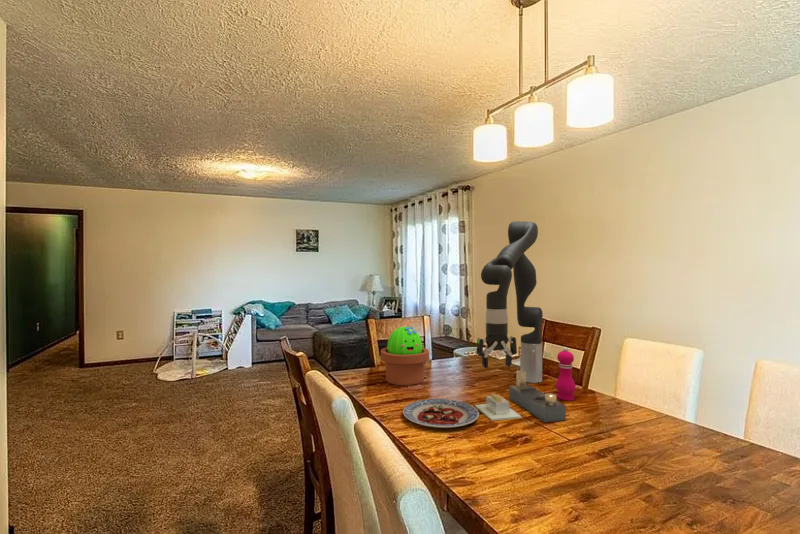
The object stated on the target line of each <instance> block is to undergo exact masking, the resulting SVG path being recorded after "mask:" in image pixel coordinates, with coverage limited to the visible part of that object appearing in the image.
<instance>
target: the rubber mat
mask: <svg viewBox="0 0 800 534" xmlns="http://www.w3.org/2000/svg"><path fill="white" fill-rule="evenodd" d="M474 408H476V409H477V411H478V412H480V413H482V414H483V415H484V416H485V417H487V419H488V420H490V421H503V420H505V421H507V420H515V419H522V416H521V415H520V414H519V413H517V412H516V411H515V410H514V409H512V408H510V414H502V415H496V414H494V413H493V412H492V411H491V410H489V409H488V408H487V407H486V403H481V404H474Z"/></svg>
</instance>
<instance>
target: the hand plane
mask: <svg viewBox="0 0 800 534" xmlns="http://www.w3.org/2000/svg"><path fill="white" fill-rule="evenodd" d="M515 378H516V380H515V381H516V385H509V387H508V388H509V389H508V391H509V392H508V393H509V394H508V396H509V400H510V401H512V402H513V403H515V404H516V405H518V406H520V407H521V409H524V410H525V411H527V412H528V413H529V414H531V415H532V416H534V417H536V418H537V419H539V421H541V422H543V423H551V422H560V421H561V422H563V421H567V417H566V416H567V411H566V409H567V405H566V404H564V403H562V402H560V401H559V400H557V394H555V393H549V392H547V393H544V392H542V391H540V390H539V389H537V388H536V387H533V386H531V385H530V384H527V382H526V372H525V371H523V370H520V369H519V370H516V377H515Z"/></svg>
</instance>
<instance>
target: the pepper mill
mask: <svg viewBox="0 0 800 534" xmlns="http://www.w3.org/2000/svg"><path fill="white" fill-rule="evenodd" d="M556 359H557V361H558V362H559V363H558V367H559V375H558V378H557V380H556V382H555V389H556V391H557V392H556V398H557V399H559V400H561V399H562V401H566V400H567V401H568V402H569V401H570V402H571V401H574V400H575V393H574V392H575V391H577V390H576V389H577V387H576V383H575V381H574V379H573V376H572V369H573V362H574V359H575V357H574V354H573V353H572V352H570V351H569V348H568V347H566V346H564V347H563V348H562V350H561V351H559V352H558V354H557V358H556Z"/></svg>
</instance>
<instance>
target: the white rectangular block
mask: <svg viewBox="0 0 800 534" xmlns="http://www.w3.org/2000/svg"><path fill="white" fill-rule="evenodd" d="M485 404H486V407H487V408H488V409H489V410H491V411H492V412H493V413H494V414H496V415H502V414H510V409H511V408H510V407H511V406H510V401H508V400H507V399H505V398H504V397H503V396H501V395H499V394H496V393H491V394H490V395H486V397H485Z"/></svg>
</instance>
